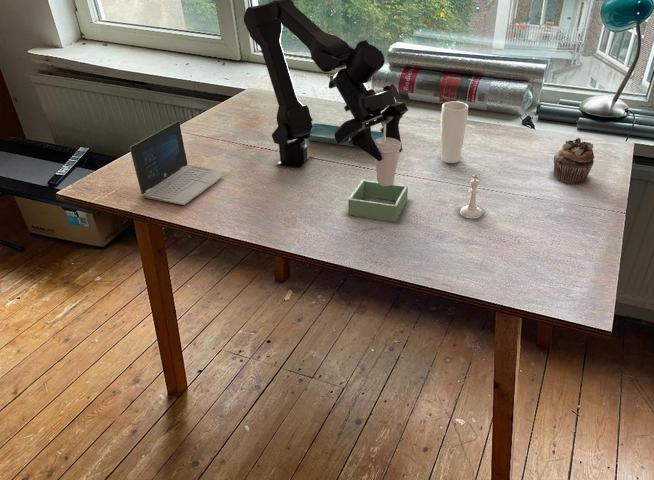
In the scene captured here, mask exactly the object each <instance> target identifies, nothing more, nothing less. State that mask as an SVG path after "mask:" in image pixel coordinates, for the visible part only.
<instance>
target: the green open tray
mask: <svg viewBox="0 0 654 480" xmlns="http://www.w3.org/2000/svg"><path fill="white" fill-rule="evenodd" d="M408 190H409V186H408V185H402V184H394V183H393V184H392V185H390V186H381V185H379V184H378V182H377V181H375V180H367V179H362V180H361V181H360V183H359V184H358V185H357V186H356V188H355V189H354V191H353V192H352V194H351V195H350V196H349V197H348V200H347V202H348V215H349V216H356V217H361V218H367V219H374V220H380V221H387V222H392V223H397V221H398V220H399V218H400V215H401V213H402V211H403V210H404V208H405V206H406V204H407V203H408ZM364 197H368V198H375V199H382V200H387V201H395V203H394V204H390V203H384V202H378V201H370V200H363V198H364Z"/></svg>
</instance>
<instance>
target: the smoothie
mask: <svg viewBox="0 0 654 480" xmlns="http://www.w3.org/2000/svg"><path fill="white" fill-rule="evenodd" d="M382 128H383V138H378V139H376V140H374V142H375V144H376V146H377V148H378V150H379V151H380V154H381V156H382V158H383V159H382V160H381V161H378V160H376V159H375V158H374V164H375V173H376V182H378V184H379V185H381V186H390V185H392V184H394V183H395V177H396V172H397V164H398V161H399V160H398V159H399V155H400V152H399V150H400V149H401V144H402V141H401V142H400V141H399V140H397V139H394V138H388V137H386V124H384V126H382Z"/></svg>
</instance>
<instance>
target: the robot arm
mask: <svg viewBox="0 0 654 480" xmlns="http://www.w3.org/2000/svg"><path fill="white" fill-rule="evenodd" d="M243 23H244V25H245V27H246V30H247V32H248V34H249V35H248V36H249V37H250V38H251V40H253V42H255V43H256V44H257V46H259V48H260V50H261V54H262V56H263V57H262V58H263V60H264V63H265V66H266V69H267V73H268V75H269V76H268V77H269V79H270V82H271V85H272V88H273V91H274V92H273V93H274V96H275V98H276V101H277V104H278V105H277V106H278V108H277V112H276V123H277V127H276V129H275V130H274V131H273V132H272V134H271V138H272V140H273V143H274V144H276V145H278V151H279V161H278V162H277V165H278V166H283V167H289V168H295V169H300V168H302V167H303V166H304V165H305V163H307V161H308V160H309V159H310V157H309V156H308V155H309V154H308V146H307V144H306V140H307V139H308V138H309V137H310V133H311V128H312V124H313V120H314V119H313V118H312V116H311V113H310V109H309V106H308V105H307V104H305V105H303V104H302V103H301V102H300V101H299V99H298V96H297V94H296V90H295V87H294V83H293V81H292V77H291V74H290V71H289V67H288V63H287V60H286V57H285V54H284V50H283V47H282V44H281V38H282V37H281V36H282V32H283V27H285V28H286V29H287V30H288V31H289V32H290V33H291V34H292V35H293V36H294V37H295V38H297V40H299V42H301V44H303V45H304V46H305V47H306V48H307V49H308V50H309V52H310V58H311V60H312V61H313V62H314V64H315V65H316V66H317V68H318V69H319V70H320V71H322V72H323V73H330V72H333V71H337V70H338V71H337V72H336V73H334V74H332V75H330V76H329V82H328V89H331V90H332V89H333V88H334V89H335V88H336V89H337V91H338V92H339V95H340V96H341V98H342V100H343V101H344V103H345V106H343V109H344V111H345V112H350V113H351V115H352V116H353V118H351V119H349V120H345V121H344V122H343V123H342V124H341V125H339V126H340V127H339V128H338V129H337V130H336V131H335V139H336V141H337V143H338V144H337V145H339V146H340V144H342V143H345V142H347V141H348V140H349V136H350V139H351V140H350V141H349V142H348V143H349V145H350V144H353V145H355V146H356V147H355V148H358V149H360V150H362V151H363V152H365V153H366V154H368V155H369V156H370V157H372V158H374V160H375V159H376V160H378V161H381V160H382V159H383V158H382V156H381V154H380V151H379V150H378V148H377V146H376V144H375V142H374V140H373V139H372V137H371V131H372V127H374V126H376V125H378V124H381V126H382V127H381V128H380V130H379V132H382V133H383V126H384V124H386V137H388V138H394V139H397V140H399V141H400V142H401V149H400V150H399V153H401V152H402V151H403V145H402V140H401V135H400V121H401V119H402V118H403V116H404V115H405V114H406V113H407V112H408V111H409V108H408V107H407V104H406V103H405V102H404V101H397V100H396V99H399V96H400V95H399V94H400V93H399V91H398V89H397V88H396V86H395V84H394V83H391V84H388V85H385V86H383V88H382V91H381V92H378V93H376V91H375V90H374V89H373V88H371V89H368V87H367V85H366V83H368V82H370V81H371V79H373V78H374V76H375V75H376V74H377V73H378V72H379V71H380V70H381V69H382V68H383V67H384V65H385V61H386V60H385V56H384V54H383V52H382V50H380V49H379V48H378V47H376V46H375V45H373V44H369V42H368V39H364V40H360V41H359V42H358V43H357V44H356V45H355V47H352V46H350V45H349V43H348V42H347V41H345V40H343V38H341V37H338V36H337V35H335V34H332V33H328V32H325V31H324V30H322V29H321V28H320V26H318V25H317V24H315V22H313V21H312V20H311V19H310V18H309V17H308V16H307V15H305V13H304V12H302V11H301V10H300V9H299V8H298V7H297V6H296V5H295V4H294V1H293V0H272V1H271V2H268V3H263V4H257V5H253V6H248V7H247V8H246V9H245V11H244V14H243Z"/></svg>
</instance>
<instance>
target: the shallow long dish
mask: <svg viewBox="0 0 654 480" xmlns="http://www.w3.org/2000/svg"><path fill="white" fill-rule="evenodd" d="M340 126H341V125H334V124H327V123H321V122H312V128H311V133H310V137H309V138H308V139H306V140H307V141H314V142H320V143H325V144H326V143H327V144H333V145H339V144H338V143H337V141H336V139H335V131H336V130H337V129H338V128H339V127H340ZM371 137H372V139H373V140H376V139H378V138H383V133H382V132H381V131H377V130H371ZM350 140H351V139H350V136H349V140H348V141H347V142H345V143H342V144H340V145H341V146H347V147H354V148H357V147H356V146H355V145H353V144H350V145H349V143H348V142H349V141H350ZM340 145H339V146H340Z"/></svg>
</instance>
